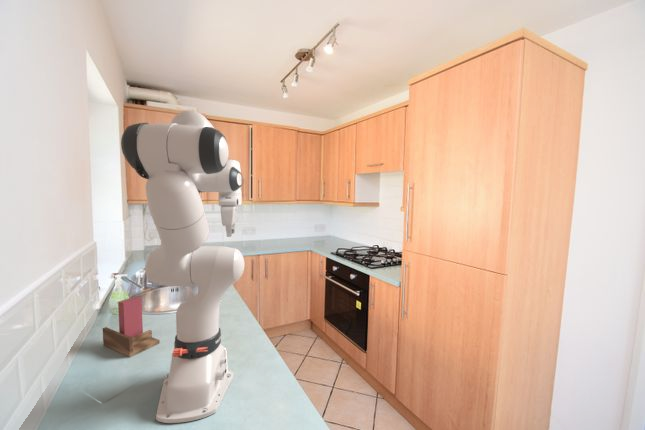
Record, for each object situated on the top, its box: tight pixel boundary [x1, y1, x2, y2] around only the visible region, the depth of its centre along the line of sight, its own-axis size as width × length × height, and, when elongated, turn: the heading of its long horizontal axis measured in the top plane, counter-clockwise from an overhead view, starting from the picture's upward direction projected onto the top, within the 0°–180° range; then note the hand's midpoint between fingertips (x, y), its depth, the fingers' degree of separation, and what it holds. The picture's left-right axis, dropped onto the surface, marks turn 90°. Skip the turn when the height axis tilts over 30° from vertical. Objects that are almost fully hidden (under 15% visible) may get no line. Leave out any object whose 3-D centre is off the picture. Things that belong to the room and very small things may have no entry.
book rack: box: [102, 326, 160, 358], centre depth 100 cm, size 10×16×6 cm, turn 63°
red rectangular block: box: [117, 296, 144, 337], centre depth 99 cm, size 6×3×15 cm, turn 153°
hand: (230, 235), depth 114 cm, fingers open, 8 cm apart
